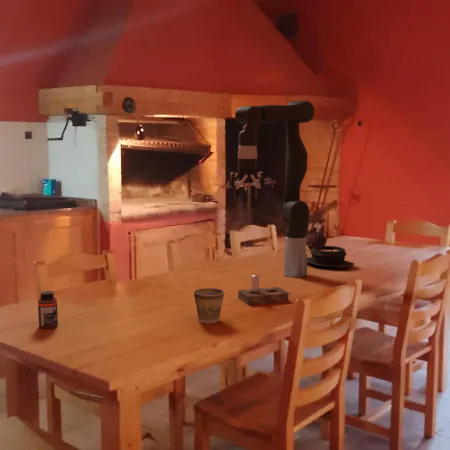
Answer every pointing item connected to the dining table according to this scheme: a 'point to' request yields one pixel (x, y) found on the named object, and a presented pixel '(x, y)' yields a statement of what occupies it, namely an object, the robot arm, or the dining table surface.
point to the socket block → (263, 296)
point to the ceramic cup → (208, 304)
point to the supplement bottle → (47, 310)
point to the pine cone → (316, 240)
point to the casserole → (328, 257)
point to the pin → (254, 284)
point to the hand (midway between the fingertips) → (246, 198)
